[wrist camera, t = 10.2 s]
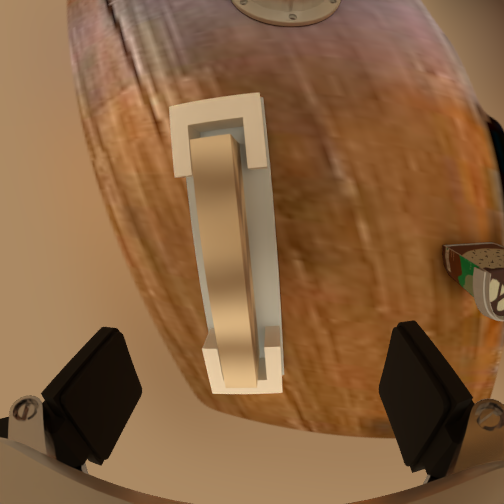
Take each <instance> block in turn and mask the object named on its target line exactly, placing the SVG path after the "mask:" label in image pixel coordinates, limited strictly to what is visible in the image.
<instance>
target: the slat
mask: <svg viewBox="0 0 504 504" xmlns="http://www.w3.org/2000/svg"><path fill="white" fill-rule="evenodd" d="M190 148H191V159H192V170H193V179H194V189H195V198H196V207H197V215H198V223H199V231H200V239H201V246H202V253H203V260H204V267H205V274H206V281H207V287H208V293H209V300H210V306H211V312H212V318H213V324H214V329H215V335H216V340H217V346H218V351H219V356H220V362H221V367H222V372H223V377H224V382H225V387H226V388H257V381H258V369H259V356H260V349H259V339H258V329H257V319H256V309H255V299H254V289H253V278H252V268H251V258H250V248H249V237H248V227H247V217H246V206H245V196H244V186H243V175H242V165H241V154H240V144H239V143H238V142H237V141H236V139H235V138H234V137H233V136H232V135H231V134H224V135H217V136H210V137H203V138H197V139H191V140H190Z"/></svg>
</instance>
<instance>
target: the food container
mask: <svg viewBox="0 0 504 504" xmlns="http://www.w3.org/2000/svg"><path fill="white" fill-rule="evenodd" d="M442 255H443V260H444V266H445V268H446V270H447V272H448V274H449V275H450V276H451V277H452V278H453V279H454V280H455V281H456V282H458V283H459V284H460V285H461V286H462V287H463V288H464V289H465V290H467V291H468V292H469V293H470V294H471V295H472V296H473V297H474V298H475V302H476V305H477V307H478V309H479V310H480V312H481V313H482V314H483V315H485V316H487V317H489V318H492V319H494V320H497V321H504V246H502V245H499V244H496V243H494V242H484V243H469V244H453V245H443V253H442Z"/></svg>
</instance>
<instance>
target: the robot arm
mask: <svg viewBox="0 0 504 504" xmlns="http://www.w3.org/2000/svg"><path fill="white" fill-rule="evenodd" d="M231 1H232V3H233V4H234V5H235V6H236V8H237V9H239V10H240V11H241V12H242V13H244V14H245V15H247V16H249V17H251V18H253V19H256V20H258V21H261V22H264V23H268V24H272V25H280V26H303V25H309V24H314V23H317V22H320V21H322V20H325V19H326V18H328V17H329V16H331V15H332V14H333V13H334V12H335V11H336V10H337V8H338V6H339V4H340V1H341V0H231ZM41 394H42V396H43V398H44V399H45V401H44V402H43V403H42V402H41V400H40V399H39V398H38V397H36V396H31V395H30V396H24V397H21V398H20V399H18V400H16V401H15V402H14V404H13V405H12V406H11V408H10V412H9V417H6V418H2V419H0V504H191V503H185V502H180V501H174V500H170V499H165V498H161V497H157V496H153V495H149V494H145V493H141V492H138V491H134V490H131V489H128V488H124V487H121V486H118V485H115V484H113V483H109V482H107V481H104V480H101V479H98V478H96V477H94V476H91V475H89V474H88V471H87V468H86V464H85V461H86V460H87V459H88V460H89V461H90V462H93V463H95V464H98V465H102V464H103V461H104V460H106V459H108V458H109V456H110V454H111V452H112V450H113V448H114V446H115V444H116V442H117V441H118V438H119V437H120V435H121V433H122V431H123V429H124V427H125V425H126V423H127V421H128V419H129V418H130V415H131V414H132V412H133V410H134V408H135V406H136V404H137V402H138V400H139V399H140V397H141V394H142V387H141V384H140V382H139V379H138V376H137V374H136V371H135V369H134V365H133V363H132V360H131V357H130V354H129V352H128V348H127V345H126V342H125V339H124V336H123V334H122V333H121V332H119V330H118V329H117V328H110V327H102V328H101V329H100V330H99V331H98V332H97V333H96V334H95V335H94V336H93V337H92V338H91V339H90V340H89V341H88V342H87V343H86V344H85V346H83V347H82V349H81V350H80V351H79V352H78V353H77V354H76V355H75V356H74V357H73V358H72V359H71V360H70V361H69V363H68V364H67V365H66V366H65V367H64V368H63V369H62V370H61V371H60V373H59V374H58V375H57V376H56V377H55V378H54V379H53V380H52V381H51V383H50V384H49V385H48V386H47V387H46V388H45V389H44V391H43V392H42V393H41ZM379 394H380V397H381V400H382V402H383V405H384V407H385V410H386V413H387V415H388V418H389V421H390V423H391V426H392V429H393V431H394V434H395V437H396V440H397V443H398V445H399V448H400V451H401V454H402V457H403V460H404V463H405V465H406V466H410V468H411V470H412V473H413V472H416V471H419V470H422V469H425V470H426V472H427V477H426V479H425V481H424V483H423V485H420V486H417V487H414V488H411V489H408V490H404V491H401V492H397V493H394V494H390V495H385V496H382V497H377V498H373V499H369V500H364V501H359V502H353V503H348V504H504V404H502V403H501V402H499V401H497V400H494V399H483V400H480V401H478V402H477V403H476V404H474V403H473V401H472V398H473V397H472V395H471V394H470V392H469V391H468V390H467V388H466V387H465V385H464V384H463V382H462V381H461V380H460V378H459V377H458V375H457V374H456V373H455V371H454V370H453V369H452V367H451V366H450V364H449V363H448V362H447V360H446V359H445V358H444V356H443V355H442V354H441V353H440V351H439V350H438V349H437V347H436V346H435V345H434V343H433V342H432V341H431V340H430V338H429V337H428V336H427V335H426V333H425V332H424V331H423V330H422V328H421V327H420V326H419V325H418V324H417V322H416V321H407V322H400V323H398V325H397V327H395V328H393V331H392V335H391V340H390V344H389V349H388V353H387V357H386V361H385V365H384V369H383V373H382V377H381V381H380V384H379Z"/></svg>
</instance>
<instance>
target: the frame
mask: <svg viewBox="0 0 504 504" xmlns="http://www.w3.org/2000/svg"><path fill="white" fill-rule="evenodd" d="M169 114H170V130H171V143H172V155H173V166H174V176H175V177H186V181H187V191H188V200H189V208H190V216H191V224H192V232H193V239H194V246H195V253H196V260H197V267H198V273H199V279H200V286H201V292H202V298H203V304H204V309H205V315H206V320H207V326H208V331H209V333H208V335H207V338H206V340H205V343H204V345H203V348H202V350H203V355H204V359H205V364H206V368H207V372H208V376H209V381H210V385H211V389H212V393H213V394H264V393H282V375H284V361H283V340H282V321H281V303H280V287H279V271H278V257H277V243H276V230H275V217H274V205H273V193H272V181H271V170H270V159H269V149H268V139H267V129H266V119H265V110H264V101H263V97H260V93H249V94H240V95H232V96H224V97H218V98H211V99H205V100H199V101H194V102H188V103H183V104H179V105H174V106H169ZM224 134H231V135H232V136H233V137H234V138H235V139H236V141H237V142H238V143H239V144H240V154H241V165H242V175H243V186H244V196H245V206H246V217H247V227H248V237H249V248H250V258H251V268H252V278H253V289H254V299H255V309H256V319H257V329H258V339H259V349H260V356H259V369H258V381H257V388H226V387H225V382H224V377H223V372H222V367H221V362H220V356H219V351H218V346H217V340H216V335H215V329H214V324H213V318H212V312H211V306H210V300H209V293H208V287H207V281H206V274H205V267H204V260H203V253H202V246H201V239H200V231H199V223H198V215H197V207H196V198H195V189H194V179H193V170H192V159H191V148H190V140H191V139H197V138H203V137H210V136H217V135H224Z"/></svg>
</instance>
